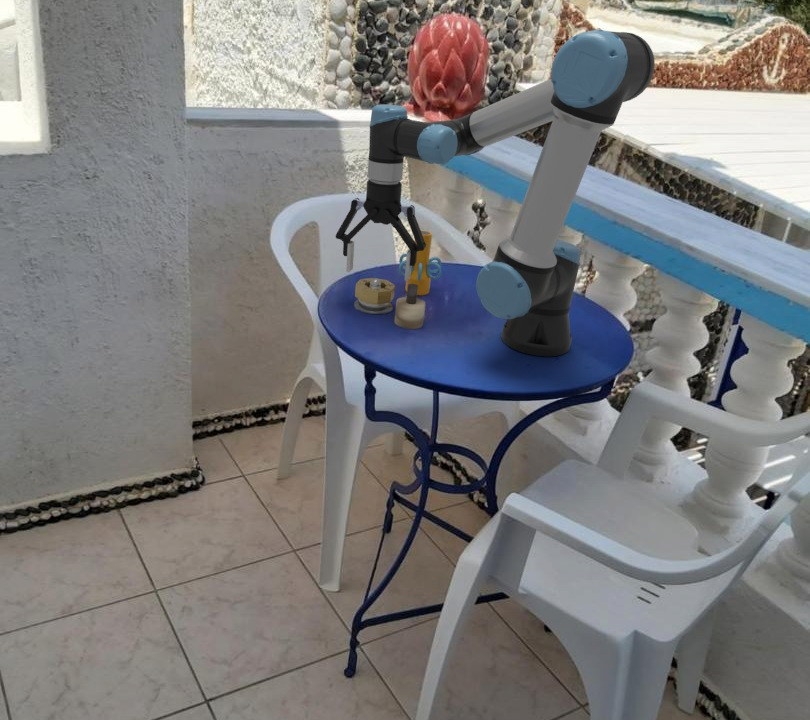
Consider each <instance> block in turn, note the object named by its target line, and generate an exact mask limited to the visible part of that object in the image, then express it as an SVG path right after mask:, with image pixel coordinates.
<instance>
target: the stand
mask: <svg viewBox="0 0 810 720" xmlns="http://www.w3.org/2000/svg"><path fill="white" fill-rule="evenodd" d="M417 290H418V285H417V284H408V289H407V292H406V296H403V297H399V298H397V299H396V304H395V313H394V324H395V325H396V326H398V327H399V328H403V329H407V330H417V329H421V328H422V327H423V325H424V319H425V312H426V311H425V310H426V301H424V300H423V299H421V298H418V295H417Z"/></svg>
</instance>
